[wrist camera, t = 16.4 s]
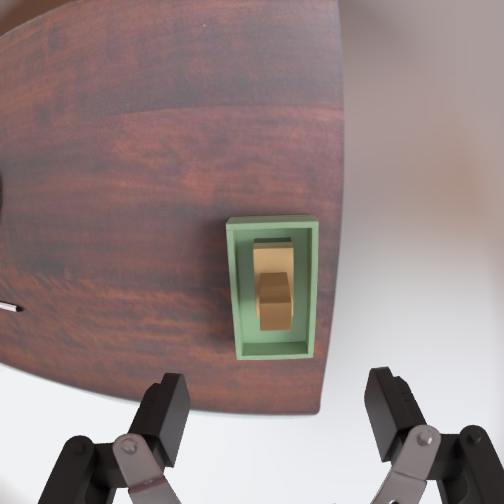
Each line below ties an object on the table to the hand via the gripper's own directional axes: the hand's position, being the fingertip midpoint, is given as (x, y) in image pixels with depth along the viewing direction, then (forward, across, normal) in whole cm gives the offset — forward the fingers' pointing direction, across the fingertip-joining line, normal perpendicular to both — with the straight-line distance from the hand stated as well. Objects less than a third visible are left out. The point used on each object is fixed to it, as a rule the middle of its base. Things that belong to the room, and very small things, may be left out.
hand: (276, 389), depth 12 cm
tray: (+21, 0, +5) cm, 21 cm away
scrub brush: (+20, 0, +3) cm, 20 cm away
